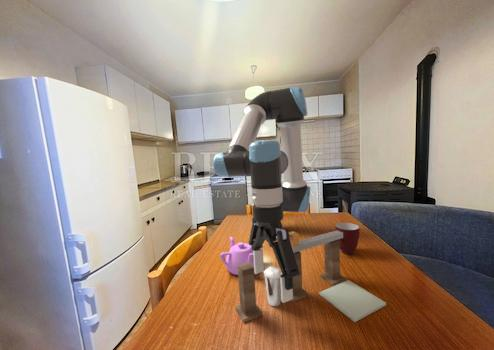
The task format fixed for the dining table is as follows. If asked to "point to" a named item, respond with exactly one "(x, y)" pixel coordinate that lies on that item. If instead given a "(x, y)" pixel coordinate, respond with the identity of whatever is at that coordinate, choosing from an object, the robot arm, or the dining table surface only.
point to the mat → (352, 300)
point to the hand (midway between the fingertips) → (271, 284)
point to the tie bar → (312, 240)
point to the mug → (348, 237)
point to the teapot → (237, 256)
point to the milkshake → (273, 285)
